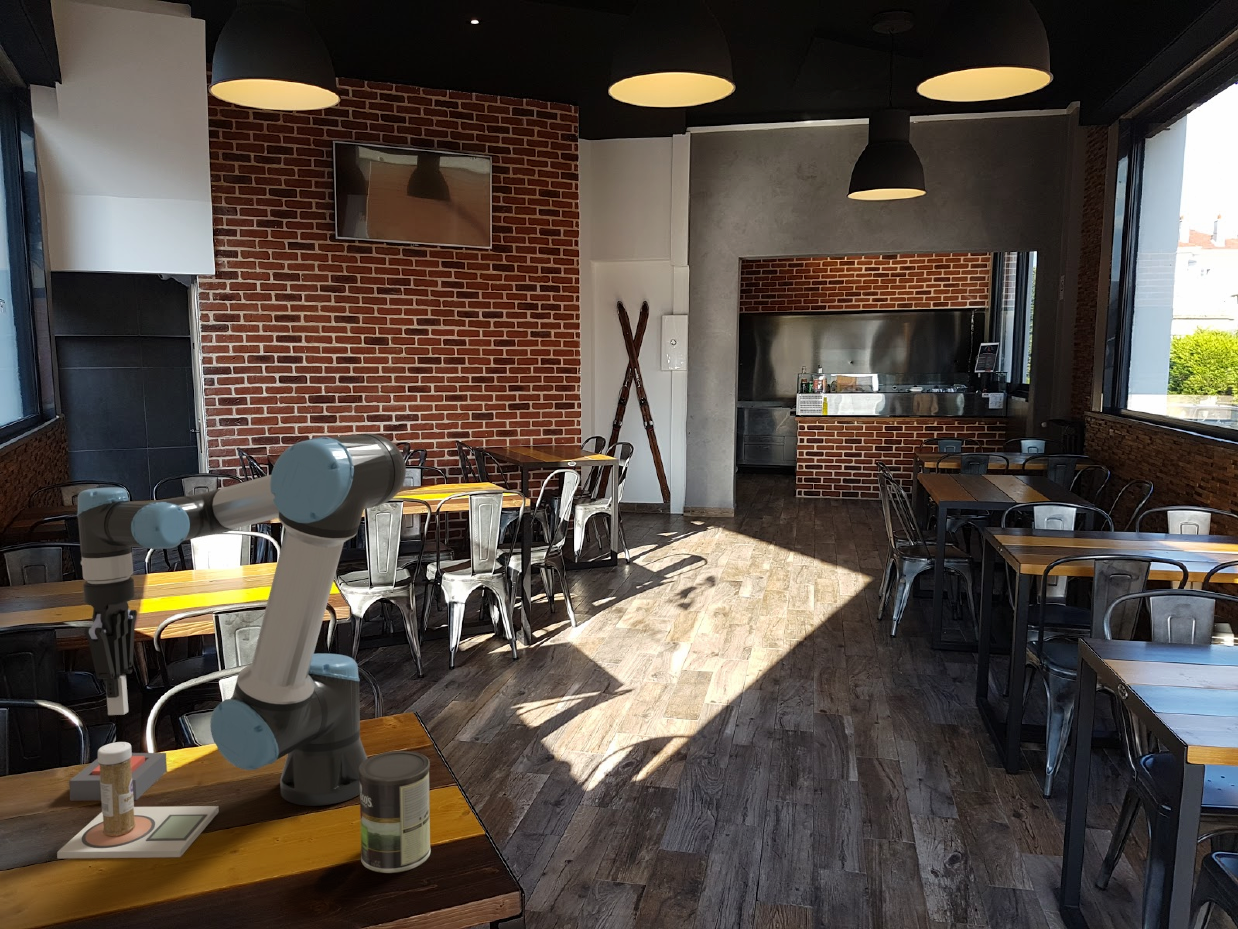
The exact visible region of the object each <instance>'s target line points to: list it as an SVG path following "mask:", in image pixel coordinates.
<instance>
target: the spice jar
mask: <svg viewBox="0 0 1238 929" xmlns="http://www.w3.org/2000/svg"><path fill="white" fill-rule="evenodd" d="M132 753H133V752H132V745H131V743H129V742H126V741H117V742H111V743H108V744H105V745H102V746H101V747H99V748H98V749H97V758H98V762H99V765H100V779H101V780H100V787H101V800H100V801H101V802H100V803H101V812H102V814H103V825H104V828H103V833H104V834H105V835H107V836H119V835H123V834H126V833H128V832H130V831H132V830H133V829H134V828H135V826H136V823H135V821H134V807H135V800H134V798H133V783H132V774H131V756H132Z"/></svg>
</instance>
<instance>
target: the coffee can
mask: <svg viewBox="0 0 1238 929" xmlns="http://www.w3.org/2000/svg"><path fill="white" fill-rule="evenodd" d="M367 758H368V759H366V760H365V761H363V762H362V763H361V764H360V766H359V768H358V772H359V780H360V795H359V808H360V809H359V813H360V846H361V847H360V850H361V851H360V852H361V855H360V861H361V863H362V865H363V866H364V867H365V868H366V869H367V870H370V871H372V872H376V873H382V874H383V873H384V874H394V873H395V874H397V873H402V872H406V871H409V870H412V869H415V868H417V867H418V866H421V865H422V864H423V863H425V862H426V861H428V859H429V857H430V855H431V852H432V851H431V850H432V849H431V828H430V826H431V825H430V823H431V820H430V817H431V816H430V767H431V762H430V759H429V757H427V756H426V755H424V754H422V753H420V752H416V751H411V750H410V751H409V750H408V751H407V750H394V751H387V752H385V751H384V752H382V753H378V754H375V755H372V756H371V757H367Z"/></svg>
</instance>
